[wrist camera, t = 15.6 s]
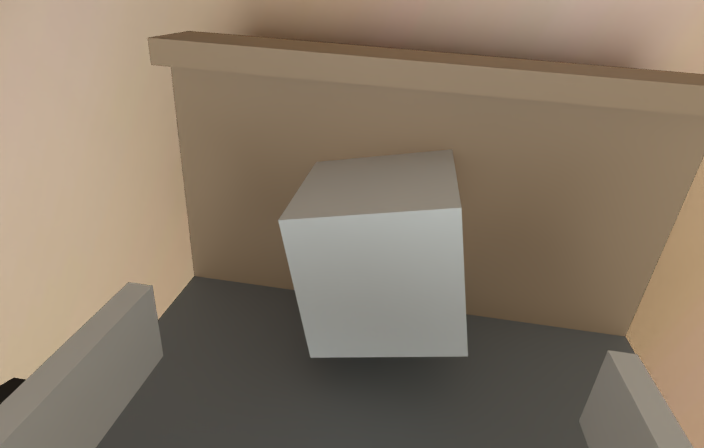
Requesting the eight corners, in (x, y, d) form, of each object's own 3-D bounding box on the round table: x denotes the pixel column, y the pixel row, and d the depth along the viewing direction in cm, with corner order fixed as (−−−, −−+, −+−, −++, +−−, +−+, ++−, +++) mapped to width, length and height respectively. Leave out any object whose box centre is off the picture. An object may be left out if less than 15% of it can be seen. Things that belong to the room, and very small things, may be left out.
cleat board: (568, 279, 30) (822, 794, 11) (247, 237, 32) (-20, 603, 13) (644, 56, 24) (1597, 335, 4) (237, 23, 26) (-318, 112, 7)
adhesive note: (452, 148, 19) (462, 207, 14) (458, 268, 22) (469, 356, 17) (315, 161, 21) (277, 220, 15) (336, 274, 23) (310, 358, 18)
